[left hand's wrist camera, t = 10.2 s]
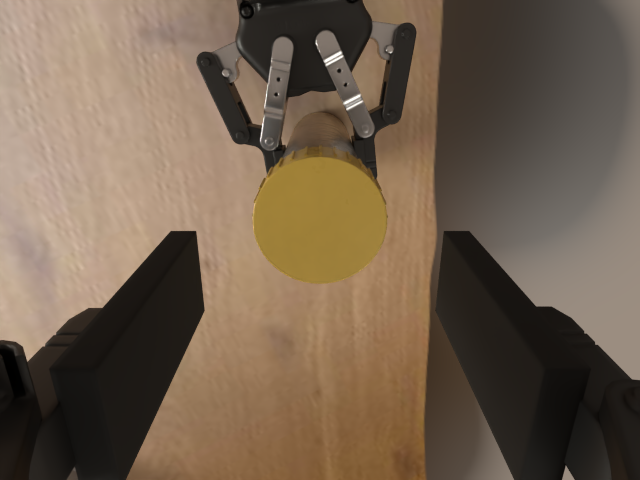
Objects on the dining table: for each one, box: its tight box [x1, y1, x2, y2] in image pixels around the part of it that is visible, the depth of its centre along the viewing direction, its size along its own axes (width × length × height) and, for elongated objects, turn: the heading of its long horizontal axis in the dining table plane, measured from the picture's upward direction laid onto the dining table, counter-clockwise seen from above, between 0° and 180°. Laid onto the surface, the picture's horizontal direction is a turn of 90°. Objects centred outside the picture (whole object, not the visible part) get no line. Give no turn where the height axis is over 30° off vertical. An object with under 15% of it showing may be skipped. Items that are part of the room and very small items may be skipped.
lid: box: [252, 145, 388, 284], centre depth 19 cm, size 6×6×2 cm
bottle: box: [283, 112, 358, 159], centre depth 28 cm, size 5×5×20 cm
